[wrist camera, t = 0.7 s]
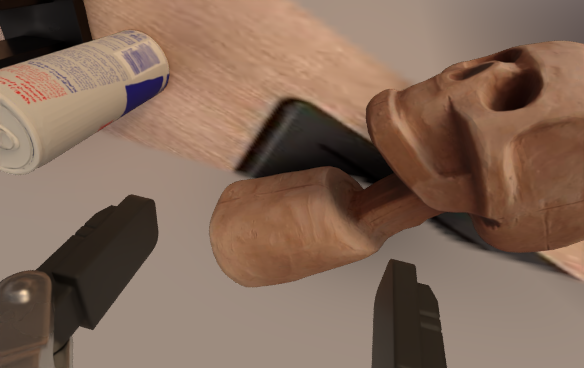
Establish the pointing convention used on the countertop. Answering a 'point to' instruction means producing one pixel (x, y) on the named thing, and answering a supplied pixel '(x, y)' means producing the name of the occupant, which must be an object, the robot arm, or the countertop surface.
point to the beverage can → (74, 96)
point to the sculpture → (429, 171)
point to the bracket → (40, 28)
